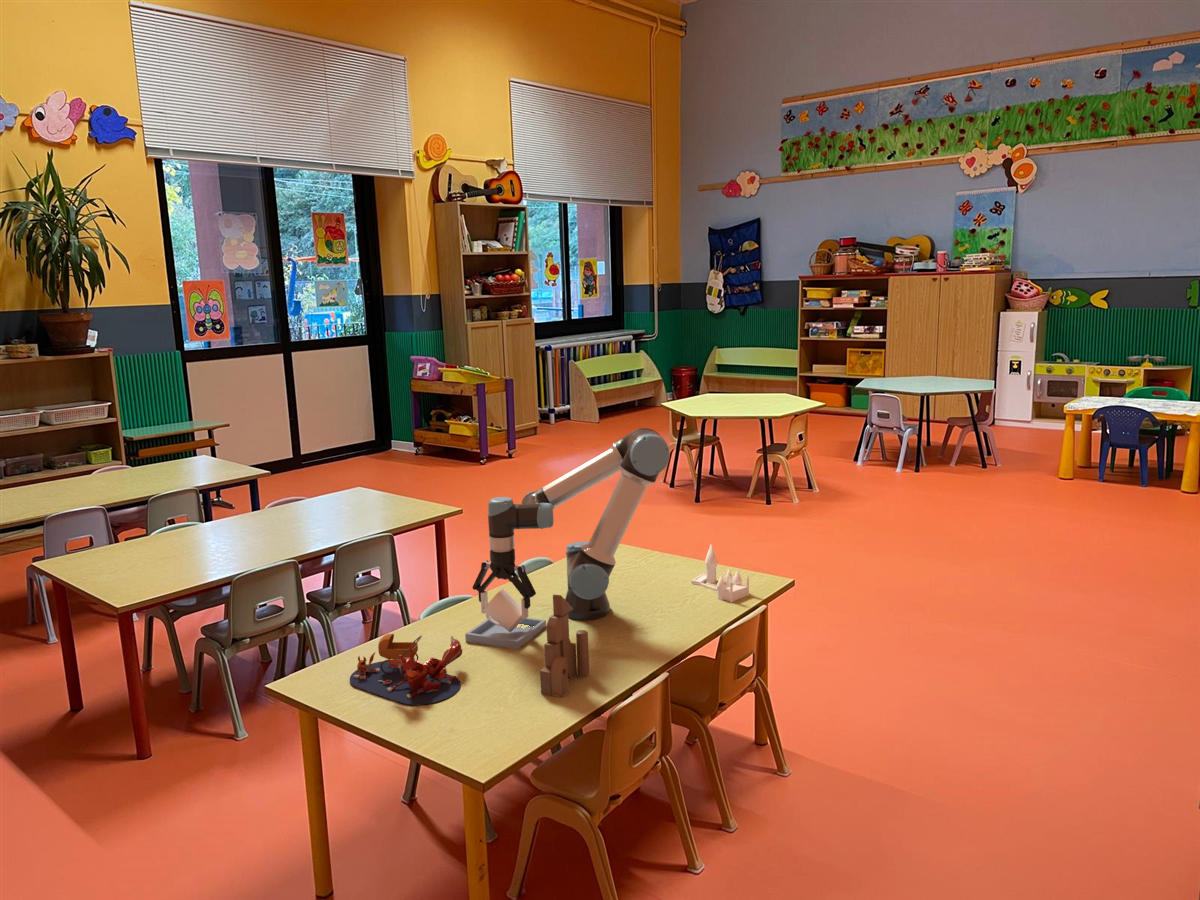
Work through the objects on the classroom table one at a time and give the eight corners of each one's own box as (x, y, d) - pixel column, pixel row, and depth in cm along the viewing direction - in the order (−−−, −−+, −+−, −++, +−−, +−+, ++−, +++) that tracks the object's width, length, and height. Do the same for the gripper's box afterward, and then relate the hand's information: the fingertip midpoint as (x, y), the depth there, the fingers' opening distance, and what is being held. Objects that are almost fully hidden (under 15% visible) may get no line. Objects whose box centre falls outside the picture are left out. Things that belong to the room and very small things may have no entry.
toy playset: (335, 679, 245) (330, 631, 242) (406, 647, 266) (403, 603, 263) (423, 711, 225) (420, 659, 222) (493, 673, 246) (491, 626, 243)
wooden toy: (562, 698, 229) (558, 606, 224) (540, 693, 232) (536, 602, 227) (591, 675, 242) (588, 587, 238) (570, 670, 245) (567, 584, 241)
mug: (532, 606, 272) (507, 584, 274) (519, 617, 264) (494, 595, 266) (514, 630, 277) (489, 608, 278) (501, 642, 268) (476, 619, 270)
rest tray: (546, 628, 276) (545, 620, 276) (518, 650, 260) (517, 641, 260) (496, 621, 284) (495, 613, 283) (465, 641, 267) (465, 633, 267)
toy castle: (704, 581, 316) (703, 537, 313) (758, 598, 297) (758, 552, 294) (675, 591, 307) (674, 546, 304) (729, 609, 288) (729, 561, 285)
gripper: (545, 549, 265) (547, 616, 269) (472, 541, 275) (475, 605, 279) (533, 556, 259) (535, 624, 262) (459, 547, 269) (462, 613, 272)
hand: (504, 615), depth 271 cm, fingers closed on mug, 13 cm apart
